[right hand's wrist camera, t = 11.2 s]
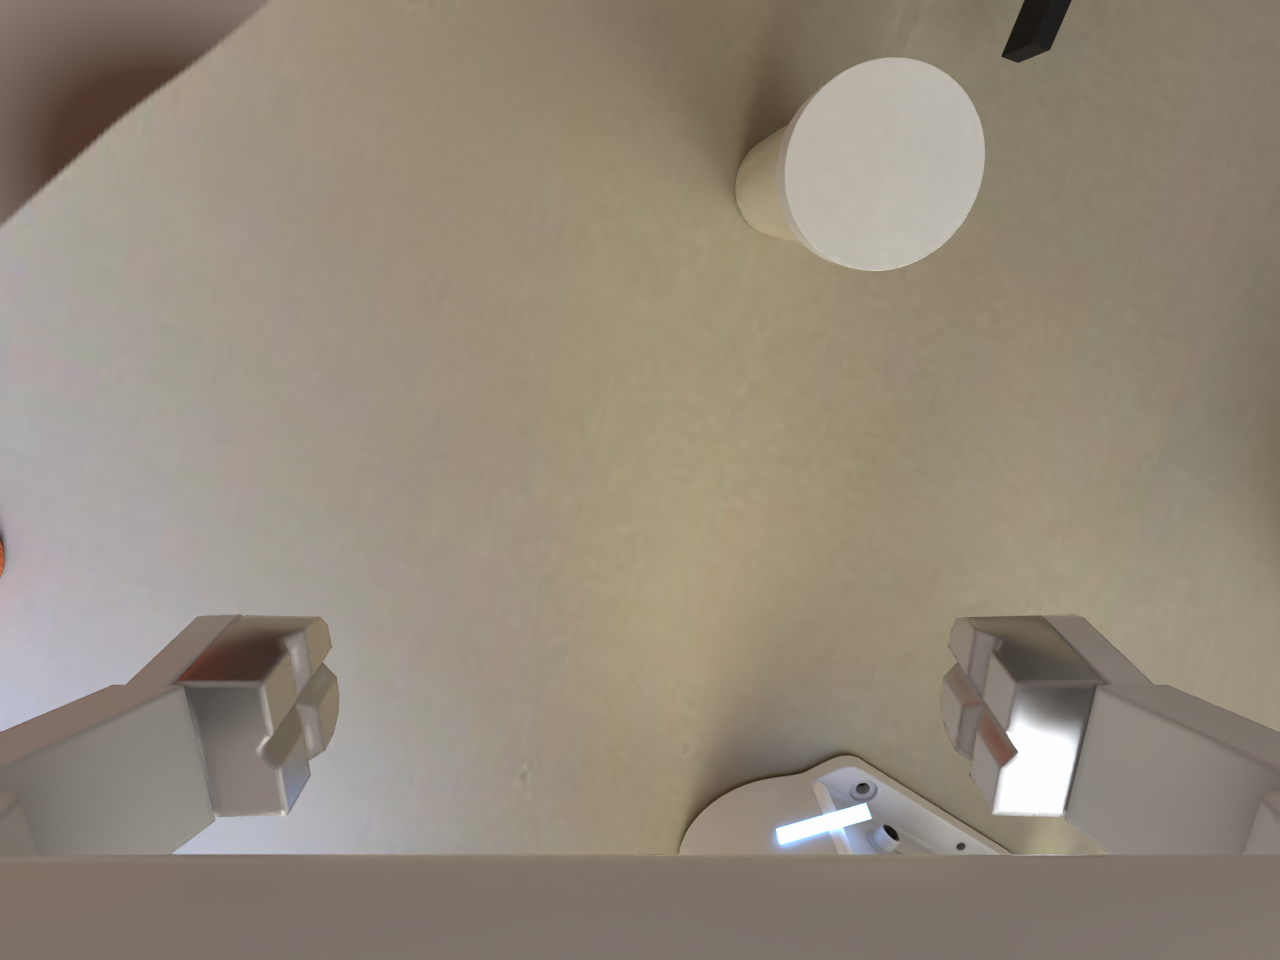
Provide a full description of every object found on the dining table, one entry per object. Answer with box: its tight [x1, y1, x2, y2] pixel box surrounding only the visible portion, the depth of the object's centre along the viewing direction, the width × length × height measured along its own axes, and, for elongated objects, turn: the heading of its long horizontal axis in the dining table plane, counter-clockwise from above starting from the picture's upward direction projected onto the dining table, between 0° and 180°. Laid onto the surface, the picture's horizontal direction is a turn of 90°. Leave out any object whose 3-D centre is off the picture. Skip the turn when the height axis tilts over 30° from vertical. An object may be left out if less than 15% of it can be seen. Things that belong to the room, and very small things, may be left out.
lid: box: [776, 57, 985, 271], centre depth 22 cm, size 6×6×2 cm
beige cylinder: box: [735, 123, 803, 244], centre depth 30 cm, size 5×5×17 cm
